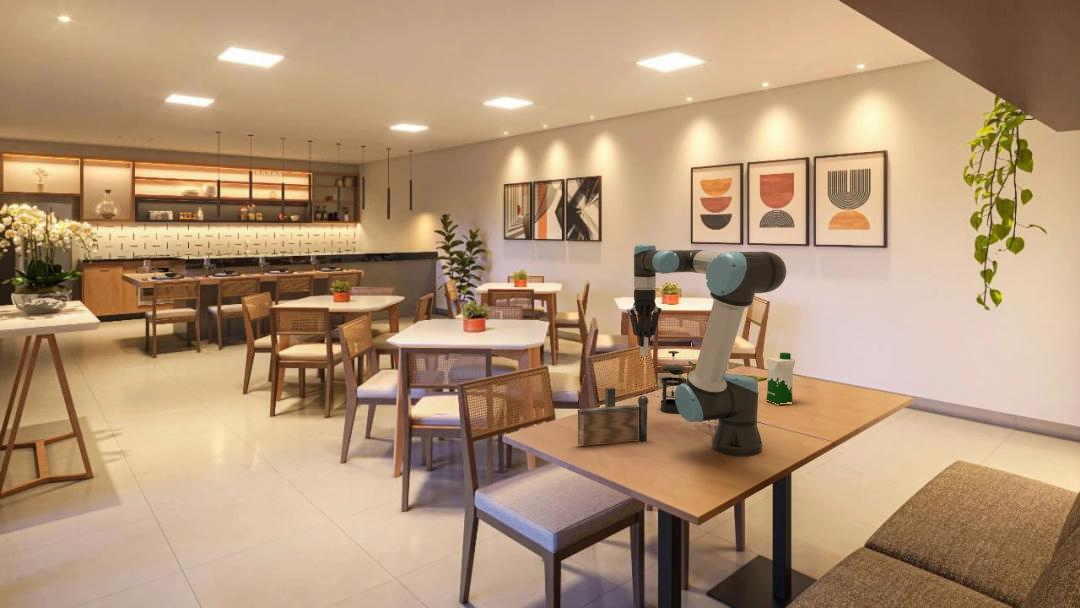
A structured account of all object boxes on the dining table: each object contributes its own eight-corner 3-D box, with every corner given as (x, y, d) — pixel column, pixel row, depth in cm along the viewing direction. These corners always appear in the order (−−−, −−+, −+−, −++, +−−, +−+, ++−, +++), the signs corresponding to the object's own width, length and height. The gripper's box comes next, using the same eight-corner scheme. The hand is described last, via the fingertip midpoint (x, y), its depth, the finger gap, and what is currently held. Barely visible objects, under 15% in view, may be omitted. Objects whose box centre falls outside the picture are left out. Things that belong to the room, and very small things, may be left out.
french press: (671, 415, 232) (672, 354, 230) (653, 409, 240) (654, 351, 238) (693, 410, 239) (694, 351, 236) (675, 405, 247) (676, 347, 244)
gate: (635, 438, 204) (635, 404, 203) (638, 440, 202) (638, 406, 201) (577, 443, 199) (577, 409, 198) (580, 446, 197) (580, 411, 195)
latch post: (615, 420, 226) (615, 388, 224) (607, 421, 225) (607, 389, 223) (612, 419, 227) (612, 387, 226) (605, 420, 226) (605, 388, 225)
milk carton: (796, 404, 246) (797, 355, 244) (776, 406, 243) (778, 356, 241) (781, 399, 254) (782, 351, 252) (762, 401, 252) (764, 352, 250)
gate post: (649, 441, 202) (650, 396, 201) (640, 442, 201) (641, 397, 200) (644, 438, 206) (645, 394, 204) (635, 439, 205) (635, 395, 203)
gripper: (654, 287, 223) (654, 352, 225) (622, 288, 218) (622, 355, 220) (666, 288, 216) (665, 355, 218) (634, 290, 211) (633, 358, 213)
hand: (644, 355), depth 219 cm, fingers closed
